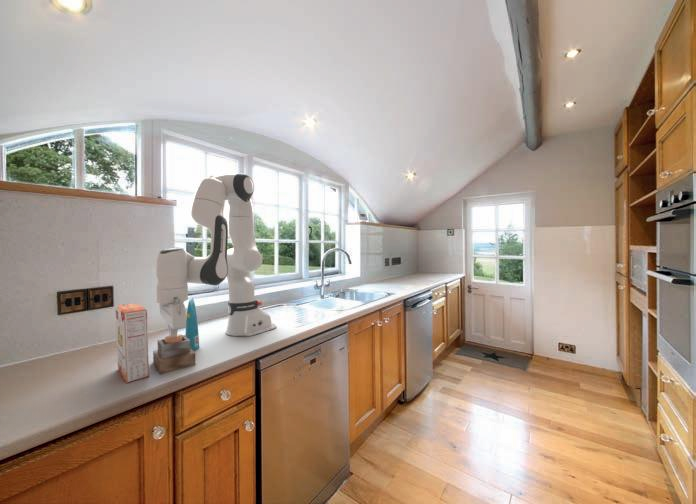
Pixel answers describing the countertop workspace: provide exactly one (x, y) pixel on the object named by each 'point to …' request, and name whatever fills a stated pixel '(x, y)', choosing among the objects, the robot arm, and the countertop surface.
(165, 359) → the grey stepped open box
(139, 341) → the cracker box
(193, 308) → the tube
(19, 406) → the countertop surface
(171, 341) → the push button
